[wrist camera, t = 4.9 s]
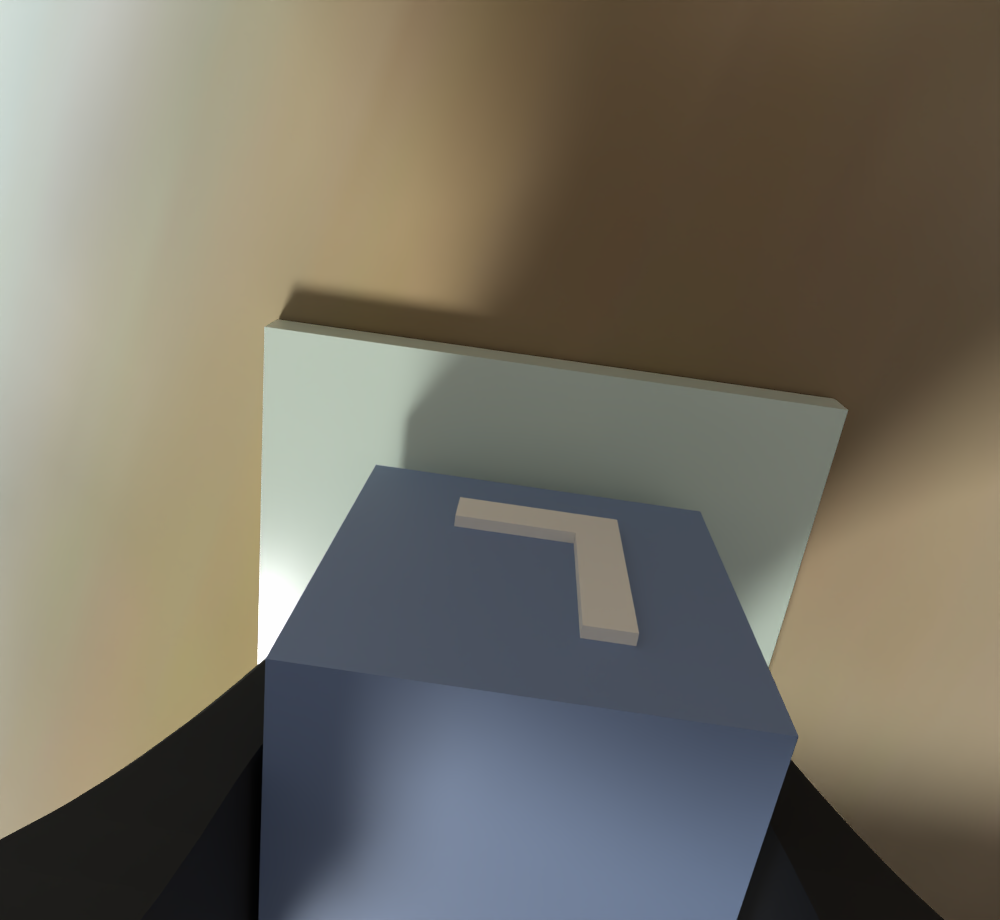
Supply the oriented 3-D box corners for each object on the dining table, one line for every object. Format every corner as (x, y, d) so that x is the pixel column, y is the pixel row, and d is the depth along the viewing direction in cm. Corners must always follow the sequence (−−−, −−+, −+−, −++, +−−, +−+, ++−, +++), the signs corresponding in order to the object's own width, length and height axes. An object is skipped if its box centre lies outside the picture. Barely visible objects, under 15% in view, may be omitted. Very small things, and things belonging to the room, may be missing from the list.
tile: (706, 822, 16) (712, 847, 15) (265, 758, 16) (255, 780, 15) (834, 398, 12) (847, 410, 12) (277, 319, 12) (264, 326, 12)
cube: (636, 768, 14) (682, 1080, 9) (355, 726, 14) (256, 1017, 9) (702, 502, 12) (803, 723, 7) (376, 455, 12) (265, 644, 7)
